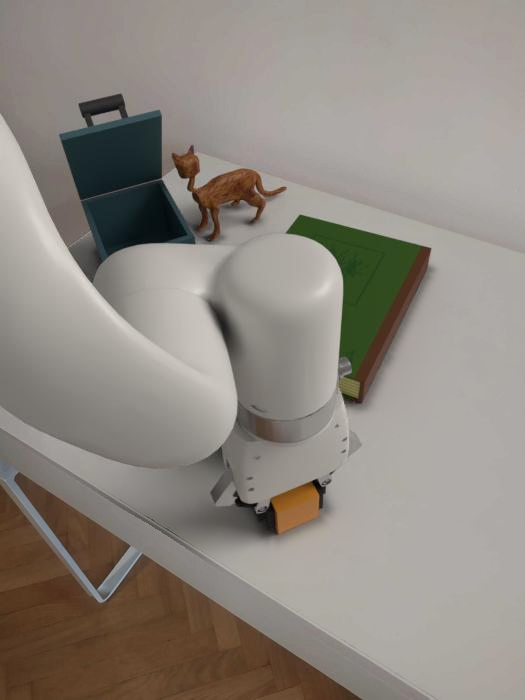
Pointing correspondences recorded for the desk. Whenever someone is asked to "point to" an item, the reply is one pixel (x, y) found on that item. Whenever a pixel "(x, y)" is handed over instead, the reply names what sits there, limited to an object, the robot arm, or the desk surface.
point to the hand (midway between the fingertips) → (289, 505)
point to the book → (368, 293)
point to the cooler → (135, 218)
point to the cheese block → (295, 507)
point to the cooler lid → (113, 149)
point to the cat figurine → (222, 189)
